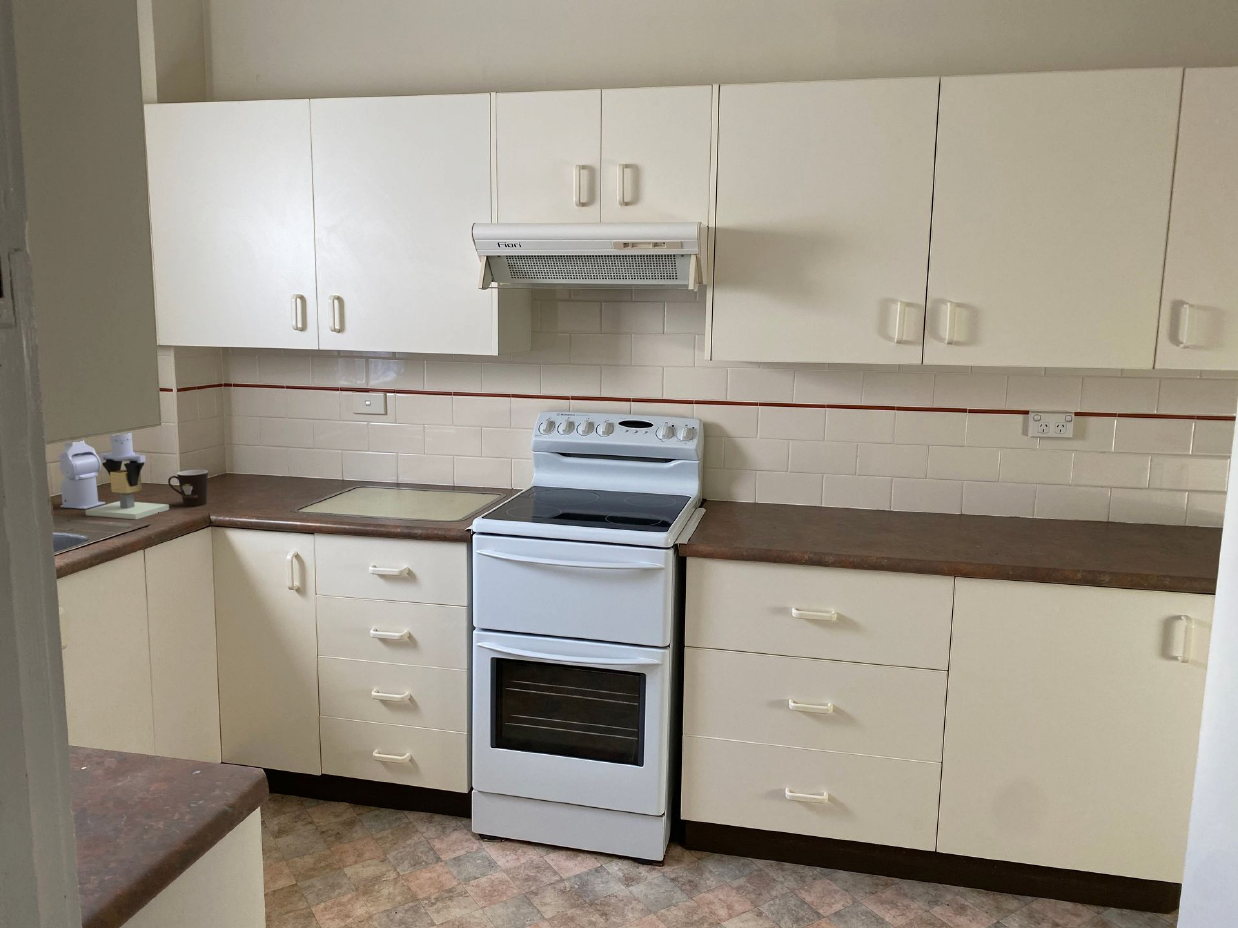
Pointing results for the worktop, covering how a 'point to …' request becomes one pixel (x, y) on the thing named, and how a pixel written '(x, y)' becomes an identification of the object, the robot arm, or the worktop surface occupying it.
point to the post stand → (127, 508)
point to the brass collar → (123, 482)
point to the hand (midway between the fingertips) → (125, 485)
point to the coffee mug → (192, 487)
